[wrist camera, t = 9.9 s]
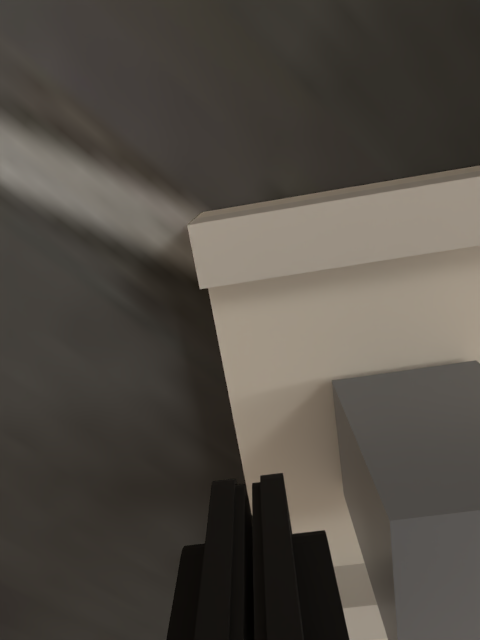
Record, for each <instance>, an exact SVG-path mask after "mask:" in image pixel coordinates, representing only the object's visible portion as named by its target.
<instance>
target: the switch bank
mask: <svg viewBox="0 0 480 640" xmlns="http://www.w3.org/2000/svg"><path fill="white" fill-rule="evenodd" d="M187 228H188V233H189V238H190V243H191V248H192V253H193V258H194V263H195V268H196V273H197V278H198V283H199V288H200V289H205V288H208V291H209V296H210V301H211V306H212V311H213V317H214V322H215V327H216V332H217V337H218V342H219V348H220V353H221V358H222V363H223V368H224V373H225V379H226V384H227V389H228V394H229V399H230V404H231V410H232V415H233V420H234V425H235V430H236V435H237V441H238V446H239V451H240V456H241V461H242V466H243V472H244V477H245V482H246V487H247V492H248V497H249V503H250V508H251V513H252V483H257V482H260V475H269V474H277V473H283V476H284V483H285V489H286V496H287V502H288V509H289V515H290V521H291V528H292V534H295V533H304V532H313V531H322V530H325V532H326V535H327V539H328V544H329V548H330V553H331V558H332V562H333V567H334V571H335V576H336V580H337V585H338V589H339V594H340V598H341V603H342V608H343V612H344V617H345V621H346V626H347V630H348V635H349V639H350V640H388V638H387V635H386V631H385V628H384V625H383V622H382V618H381V615H380V612H379V608H378V605H377V602H376V599H375V595H374V592H373V589H372V585H371V582H370V579H369V576H368V572H367V569H366V566H365V563H364V559H363V556H362V553H361V549H360V546H359V543H358V540H357V536H356V533H355V530H354V526H353V523H352V520H351V517H350V513H349V510H348V507H347V503H346V500H345V497H344V492H343V483H342V473H341V464H340V454H339V445H338V436H337V426H336V417H335V407H334V398H333V389H332V380H339V379H346V378H353V377H361V376H368V375H375V374H382V373H389V372H396V371H403V370H411V369H418V368H425V367H432V366H439V365H446V364H453V363H460V362H468V361H475V360H476V361H477V362H479V363H480V165H479V166H473V167H467V168H461V169H455V170H449V171H443V172H437V173H432V174H426V175H420V176H414V177H408V178H402V179H396V180H390V181H384V182H378V183H372V184H366V185H360V186H354V187H348V188H343V189H337V190H331V191H325V192H319V193H313V194H307V195H301V196H295V197H289V198H283V199H277V200H271V201H265V202H260V203H254V204H248V205H242V206H236V207H230V208H224V209H218V210H212V211H206V212H202V213H201V214H199V215H198V216H197V217H196V218H195V219H194V220H192V221H191V222H190V223H189V224H188V225H187Z"/></svg>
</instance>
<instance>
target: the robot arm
mask: <svg viewBox="0 0 480 640" xmlns="http://www.w3.org/2000/svg"><path fill="white" fill-rule="evenodd" d="M167 640H350V639H349V635H348V630H347V626H346V621H345V617H344V612H343V608H342V603H341V598H340V594H339V589H338V585H337V580H336V576H335V571H334V567H333V562H332V558H331V553H330V548H329V544H328V539H327V535H326V532H325V530H322V531H313V532H304V533H295V534H292V528H291V521H290V515H289V509H288V502H287V496H286V489H285V483H284V476H283V473H277V474H269V475H260V482H257V483H252V515H251V510H250V505H249V499H248V494H247V489H246V485H245V484H240V485H238V484H237V481H236V479H228V480H220V481H213V482H212V488H211V496H210V505H209V514H208V523H207V532H206V541H205V544H198V545H189V546H184V548H183V550H182V554H181V559H180V564H179V570H178V576H177V582H176V588H175V593H174V599H173V605H172V611H171V617H170V622H169V628H168V634H167Z"/></svg>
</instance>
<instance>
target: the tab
mask: <svg viewBox="0 0 480 640" xmlns="http://www.w3.org/2000/svg"><path fill="white" fill-rule="evenodd" d="M332 389H333V398H334V407H335V417H336V426H337V436H338V445H339V454H340V464H341V473H342V483H343V492H344V497H345V500H346V503H347V507H348V510H349V513H350V517H351V520H352V523H353V526H354V530H355V533H356V536H357V540H358V543H359V546H360V549H361V553H362V556H363V559H364V563H365V566H366V569H367V572H368V576H369V579H370V582H371V585H372V589H373V592H374V595H375V599H376V602H377V605H378V608H379V612H380V615H381V618H382V622H383V625H384V628H385V631H386V635H387V638H388V640H480V363H479V362H477V361H476V360H475V361H468V362H460V363H453V364H446V365H439V366H432V367H425V368H418V369H411V370H403V371H396V372H389V373H382V374H375V375H368V376H361V377H353V378H346V379H339V380H332Z"/></svg>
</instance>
